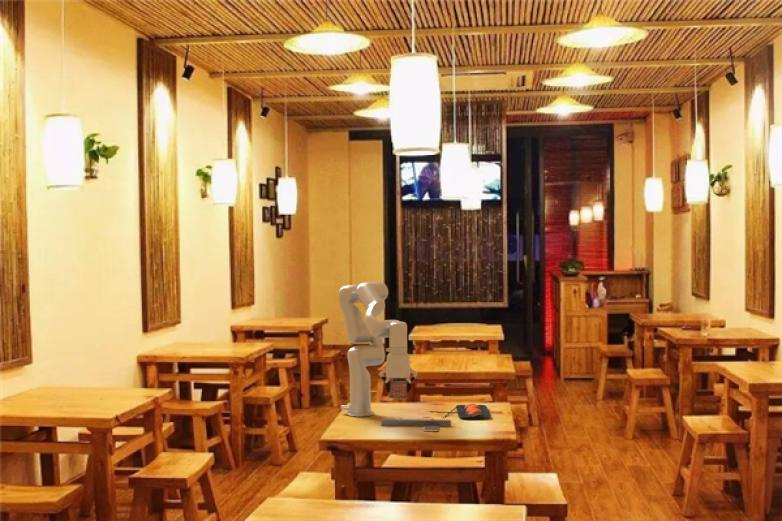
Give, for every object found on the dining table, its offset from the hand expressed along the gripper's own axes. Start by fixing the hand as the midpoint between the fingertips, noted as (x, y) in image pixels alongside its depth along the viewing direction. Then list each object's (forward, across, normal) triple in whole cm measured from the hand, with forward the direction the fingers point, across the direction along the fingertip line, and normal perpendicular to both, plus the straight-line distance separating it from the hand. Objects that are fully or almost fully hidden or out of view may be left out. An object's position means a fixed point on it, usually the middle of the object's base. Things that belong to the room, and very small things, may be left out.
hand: (398, 391), depth 365 cm
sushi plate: (+17, +24, +33) cm, 44 cm away
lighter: (+3, 0, 0) cm, 3 cm away
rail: (+16, +7, +6) cm, 18 cm away
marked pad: (+16, +14, 0) cm, 21 cm away
